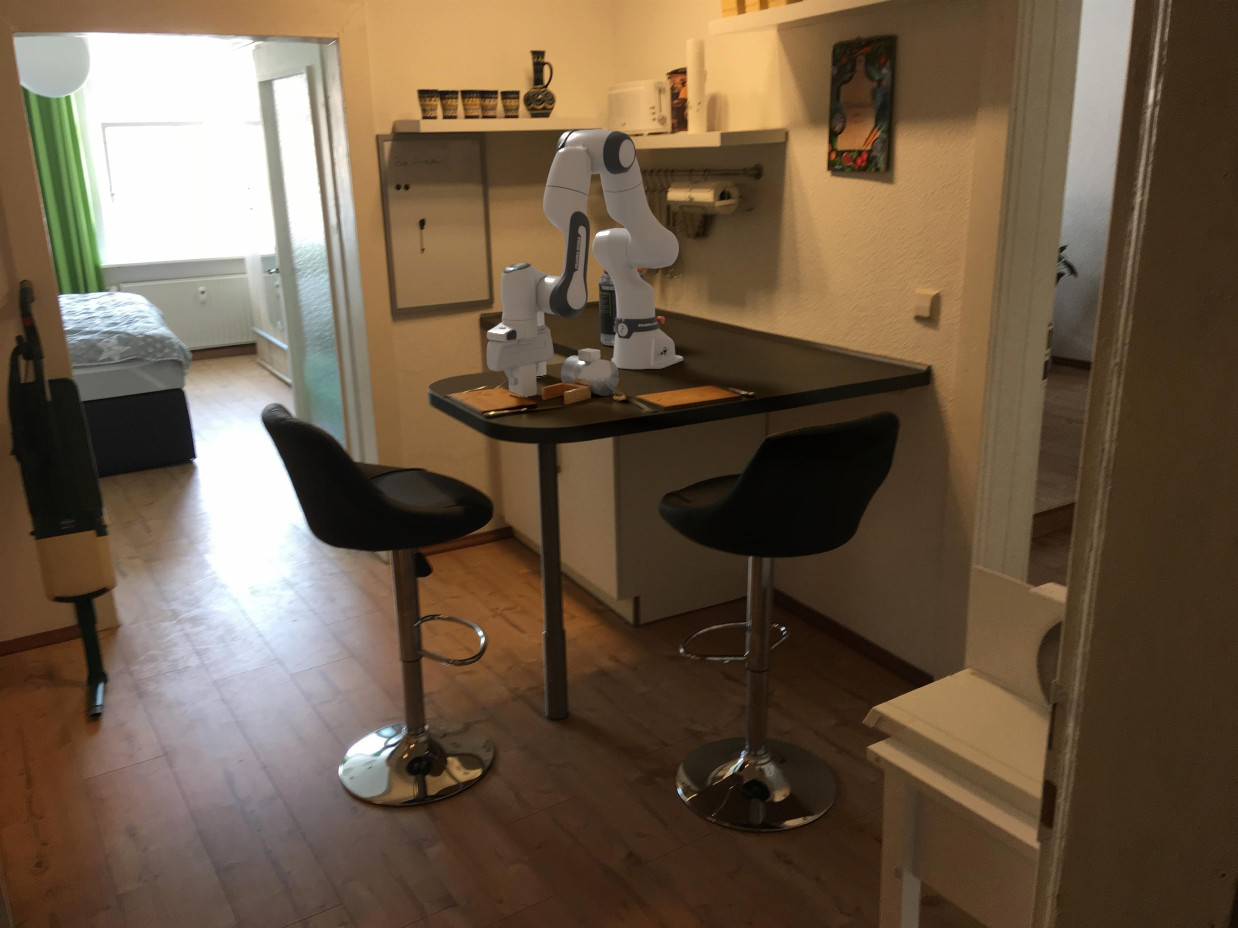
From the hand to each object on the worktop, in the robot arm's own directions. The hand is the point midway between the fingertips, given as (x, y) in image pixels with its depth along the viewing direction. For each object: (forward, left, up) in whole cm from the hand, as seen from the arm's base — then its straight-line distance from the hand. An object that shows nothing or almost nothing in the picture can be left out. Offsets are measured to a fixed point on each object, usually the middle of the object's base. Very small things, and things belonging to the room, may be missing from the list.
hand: (522, 383), depth 257 cm
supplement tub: (-72, -29, -3) cm, 78 cm away
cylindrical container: (-19, -16, -3) cm, 25 cm away
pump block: (0, 0, -3) cm, 3 cm away
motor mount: (-8, +12, -3) cm, 15 cm away
